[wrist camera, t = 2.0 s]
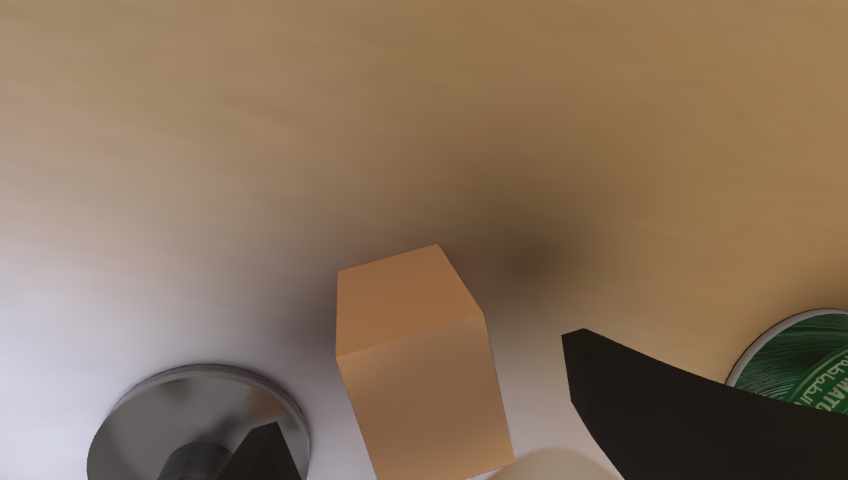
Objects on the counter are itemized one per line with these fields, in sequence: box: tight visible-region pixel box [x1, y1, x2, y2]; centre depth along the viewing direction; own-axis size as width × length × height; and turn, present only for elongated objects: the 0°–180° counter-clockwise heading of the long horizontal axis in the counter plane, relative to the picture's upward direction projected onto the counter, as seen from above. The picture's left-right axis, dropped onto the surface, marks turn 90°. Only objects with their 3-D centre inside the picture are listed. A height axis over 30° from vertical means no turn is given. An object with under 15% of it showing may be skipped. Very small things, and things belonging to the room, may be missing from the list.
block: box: [335, 243, 515, 480], centre depth 14 cm, size 4×4×6 cm
